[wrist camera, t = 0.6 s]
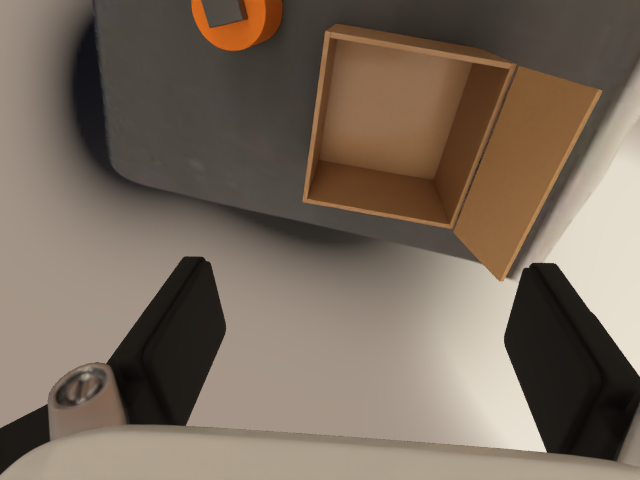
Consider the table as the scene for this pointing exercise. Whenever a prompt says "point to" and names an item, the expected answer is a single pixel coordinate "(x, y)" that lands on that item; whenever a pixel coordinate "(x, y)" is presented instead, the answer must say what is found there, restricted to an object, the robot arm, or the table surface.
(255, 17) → the orange cylinder
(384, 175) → the carton
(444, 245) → the table surface
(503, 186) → the flap
